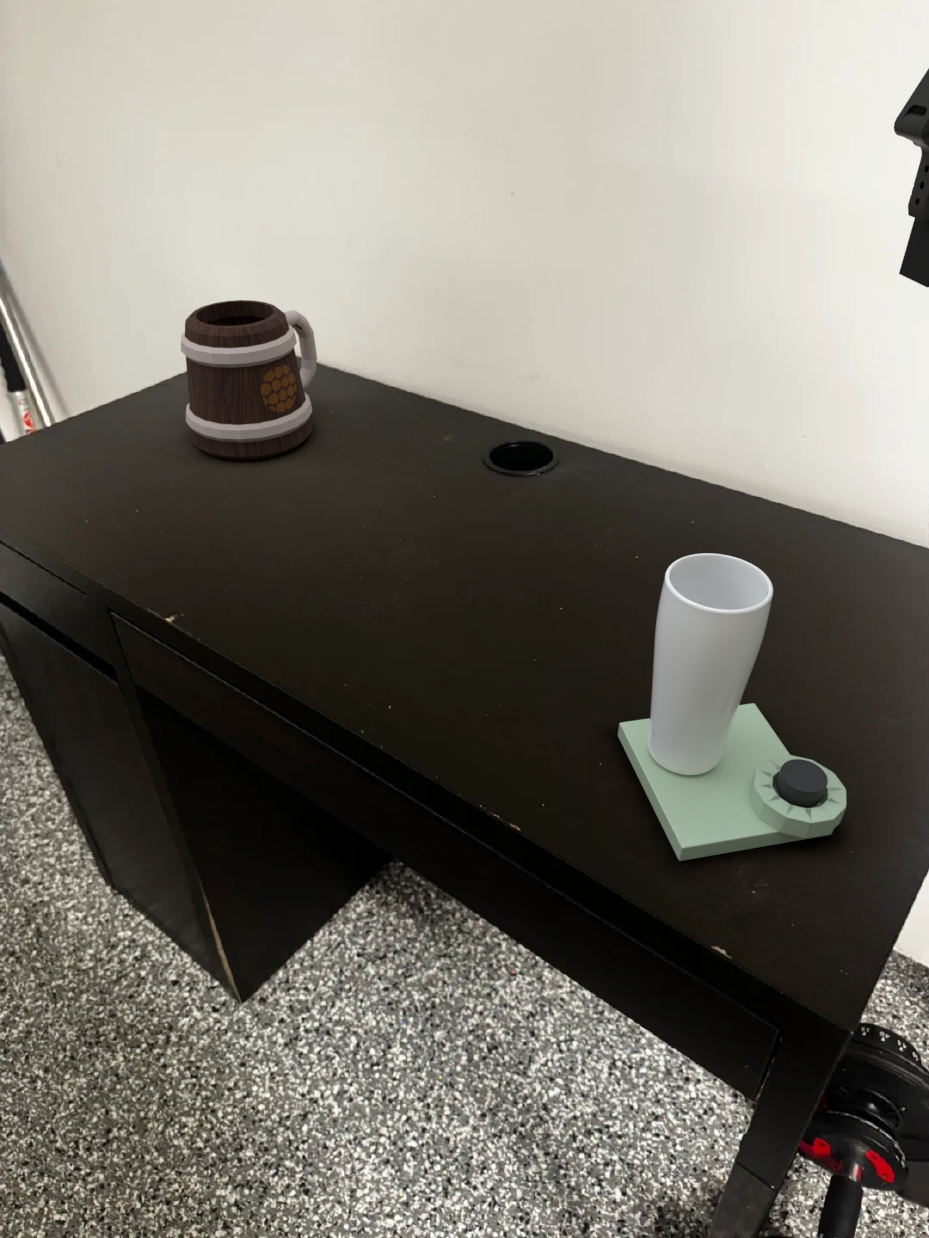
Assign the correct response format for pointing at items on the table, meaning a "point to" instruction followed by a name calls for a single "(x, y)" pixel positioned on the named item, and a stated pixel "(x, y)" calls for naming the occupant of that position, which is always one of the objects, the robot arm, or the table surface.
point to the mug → (248, 379)
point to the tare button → (801, 783)
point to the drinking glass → (703, 656)
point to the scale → (731, 793)
